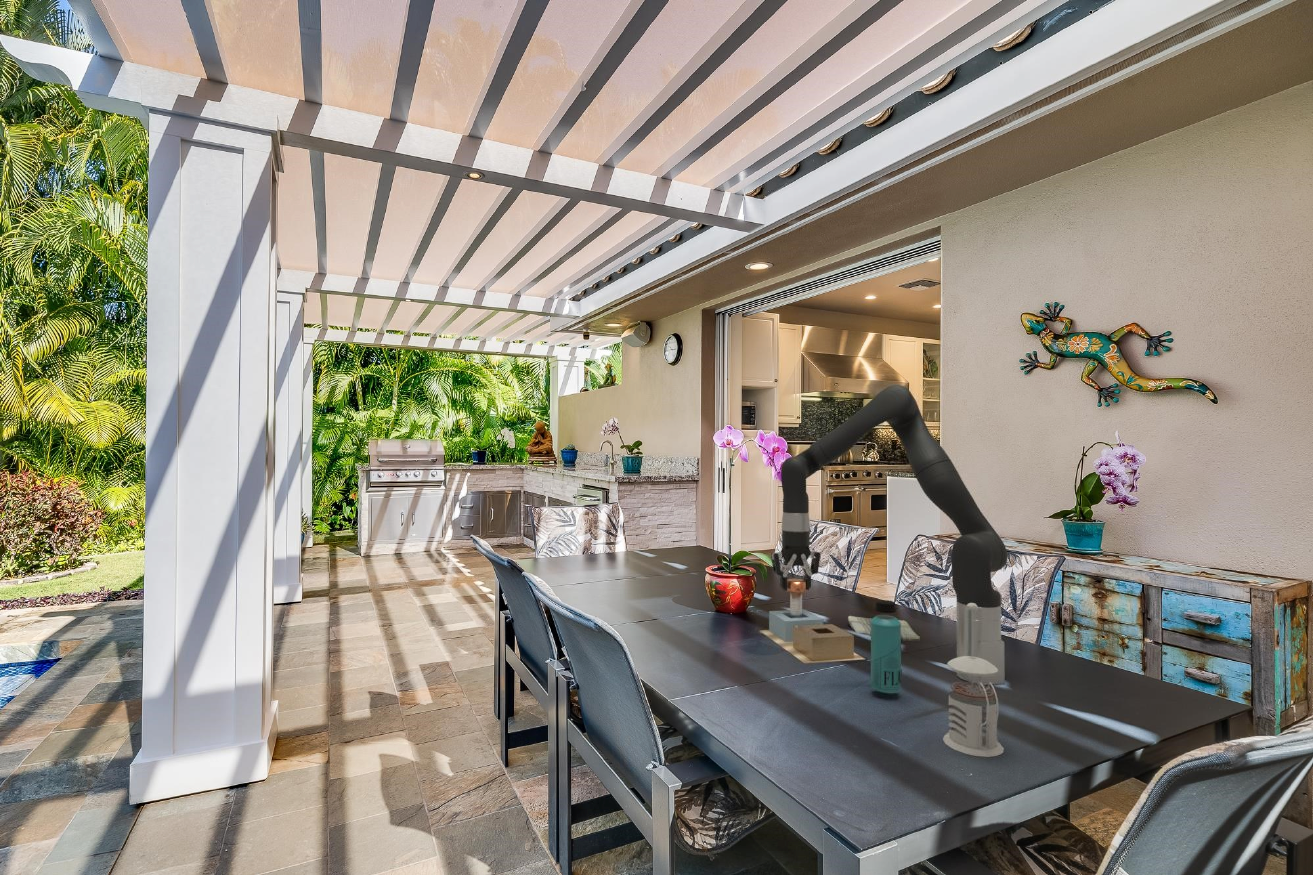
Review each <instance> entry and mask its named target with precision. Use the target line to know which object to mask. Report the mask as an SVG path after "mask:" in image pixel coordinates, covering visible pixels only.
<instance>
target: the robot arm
mask: <svg viewBox="0 0 1313 875" xmlns="http://www.w3.org/2000/svg"><path fill="white" fill-rule="evenodd" d="M884 423H887V424H888V425H889V427H891V429H892V430H893V431H894V433H895V434H896V437H897V438H898V439H899V440H900V442H901V443H902V446H903V448H904V450H905V454H906V457H907V460H908V463H909V465H910V468H911V471H912V472H913V475H914V477H915V479H916V481H917V482H918V484H919V486H920V488H921V490H922V492H923V493H924V494H925V495H926V497H927V498H928V499H929V501H931V502H932V503H933V504H934V505H935V507H937V508H938V509H939V510H940V511H941V512H942V513H944V514H945V515H946V517H948V518H949V519H950V520H951V521H952V522H953V524H954V525H955V527H956V528H957V530H958V532H959V533H960V535H961V536H959V537H957V538H956V539H955V541H954V542H953V545H952V548H951V552H950V554H951V555H950V556H951V557H950V559H951V577H952V580H951V581H952V587H953V590H954V592H955V596H956V597H955V598H956V658H958V657H962V656H972V631H971V610H967V609H966V607H967V604H969V603H975V604H976V605H977V606H978V610H977V611H973V656H974V657H978V658H982V659H984V660H986V661H988V662H989V663H991V664H992V665H994V666H995V667H996V668H997V669H998V671H997V673H996V674H994V675H991V676H973V683H974V684H975V683H976V684H979V683H980V682H981V683H982V685H983V686H988V683H989V682H990V683H991V684H992V685H1003V684H1005V681H1006V680H1005V642H1004V640H1002V597H1001V596H1002V594H1001V593H1000V592H999V591H998V590H996V589H994V587H993V585H992V575H991V573H994V572H998V571H1000V570H1002V569H1003V568H1004V567H1005V566H1006V564H1007V560H1008V551H1007V548H1006V546H1005V543H1004V542H1003V540H1002V538H1001V537H1000V536H999V534H998V533H997V531H996V530H995V528H993V525H991V523H990V522H989V520H987V518H986V517H985V515H984V514H983V512H982V511H981V510H980V508H979V506H978V504H977V502H976V501H975V499H974V498H973V496H972V494H971V492H970V491H969V490H968V488H967V486H966V484H965V483H964V480H963V479H962V477H961V475H960V473H959V472H958V470H957V468H956V466H955V465H954V463H953V462H952V459H950V456H948V453H947V452H946V451H945V450H944V448H943V447H942V446H941V444H940V443H939V442H938V441H937V440H936V439H935V437H934V436H933V435H932V434H931V431H930V430H929V428H928V426H927V424H926V423H925V420H924V418H923V415H922V413H921V410H920V408H919V406H918V402H917V401H916V399H915V397H914V395H913V394H912V392H911V391H910V390H909V388H907V387H905V385H900V384H893V385H889V386H887V387H885V388H884V389H882V390H881V391H880V392H878V394H876V395H875V396H874V397H873V398H872V399H870V400H869V401H868V402H867V403H866V404H865V405H864V406H863V407H862V408H860V409H859V410H858V411H857V412H856V413H854V414H853V415H852V416H850V418H848V419H847V420H845V421H844V422H842V423H841V424H840V425H839V426H837V427H835V428H834V429H833V430H831V431H829V432H828V433H827V434H825V435H823V436H822V437H821V438H819V439H817V440H815V441H814V442H813V443H811V445H810V446H809V447H808V448H807V449H805V450H803V451H802V452H799V454H797V455H795V456H790V457H788V458H786V459H784V461H783V462H782V463H781V468H780V480H781V489H782V495H783V496H782V518H781V545H782V546H781V550H780V551H777V552H774V551H773V552H771V553H770V558H771V564H772V572H773V573H774V574H775V575H777V576H779V584H780V585H779V588H780V589H781V590H782V591H784V592H787V579H788V577H787V576H788V574H789V572H790V571H791V569H792V568H793V567H797V566H799V567H800V568H801V569H802V571H803V574H804V575H803V580H805V581H806V591H809V590H810V588H812V576H813V575H817V574H818V573H819V567H820V560H821V553H820V552H818V551H817V550H816V551H815V550H814V551H812V550H811V548H810V545H811V544H810V543H811V541H810V540H811V539H810V538H811V536H810V535H811V534H810V533H811V531H810V530H811V529H810V527H811V526H810V524H811V523H810V522H811V521H810V514H809V512H810V511H809V510H810V508H809V507H810V502H809V501H810V500H809V495H808V492H807V479H808V478H810V477H811V476H812V475H813V474H815V473H817V472H819V470H821V468H823V467H824V466H827V465H829V464H830V463H832V462H834V461H835V460H838V459H839V458H840V457H842V456H843V455H845V454H846V453H848V452H849V451H850V450H851V449H852V448H853V447H855V446H856V445H857V443H858V442H859V441H861V439H862V438H863V437H864V436H865V435H866V434H868V433H869V432H870V431H872V430H873V429H874V428H876V427H877V426H880V425H881V424H884ZM809 558H810V559H811V560H810V564H809V562H808V559H809ZM781 559H783V562H782V564H780V560H781ZM956 676H957V677H958V678H959V679H961V680H963V681H965V682H968V683H969V682H970V683H971V682H972V675H967V674H962V673H959V672H956ZM980 685H981V684H980Z"/></svg>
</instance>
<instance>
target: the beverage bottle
mask: <svg viewBox="0 0 1313 875" xmlns="http://www.w3.org/2000/svg"><path fill="white" fill-rule="evenodd" d="M874 608H875V611H876V612H878V613H882V614H877V615H875V616H874V617H873V618H872V620H871V621H870V623H871V636H870V662H869V666H870V670H869V673H870V675H869V676H870V679H869V680H870V685H871V686H870V687H871V688H872V689H873V690H874V691H877V692H879V693H883V694H884V693H885V694H898V693H899V692H901V690H902V684H903V683H902V682H903V681H902V678H903V673H902V672H903V670H902V663H903V662H902V644H903V641H902V640H901V636H902V635H901V623H900V621H899V620H900V619H898V618H897V617H895V616H892V615H888V614H894V613H896V612H897V608H896V602H894V601H893V600H888V599H887V600H886V599H879V600H876V601H875V607H874Z"/></svg>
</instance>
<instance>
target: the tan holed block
mask: <svg viewBox="0 0 1313 875" xmlns="http://www.w3.org/2000/svg"><path fill="white" fill-rule="evenodd" d="M793 648H794V649H796V650H797V651H798V652H800V653H801V654H803V655H804V656H806V657H807V658H808V659H810V660H811V661H823V660H838V659H852V658H854V653H855V636H854V635H853V634H851V633H850V632H847V631H846V630H844V629H843V628H840V627H839V626H836V625H835V624H831V623H827V624H825V623H824V624H823V625H807V626H793Z"/></svg>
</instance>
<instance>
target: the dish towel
mask: <svg viewBox="0 0 1313 875" xmlns="http://www.w3.org/2000/svg"><path fill="white" fill-rule="evenodd" d="M872 619H873V618H869V617H862V616H853V615H849V616H848V617H847V620H848V623H849V626H850V628H851V629H853V630H854V631H855V633H856V634H865V635H867V636H869V637H871V623H870V621H871V620H872ZM898 620H899V621H900V623H901V635H902V636H901V640H902V642H915V641H920V642H921V639H920V638H921V637H920V636H919V635H917V633H916V632H915V631H914V630H913V629H912V627H911V626H910V624H909V623H908V622H907V621H906V620H901V619H898Z"/></svg>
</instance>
